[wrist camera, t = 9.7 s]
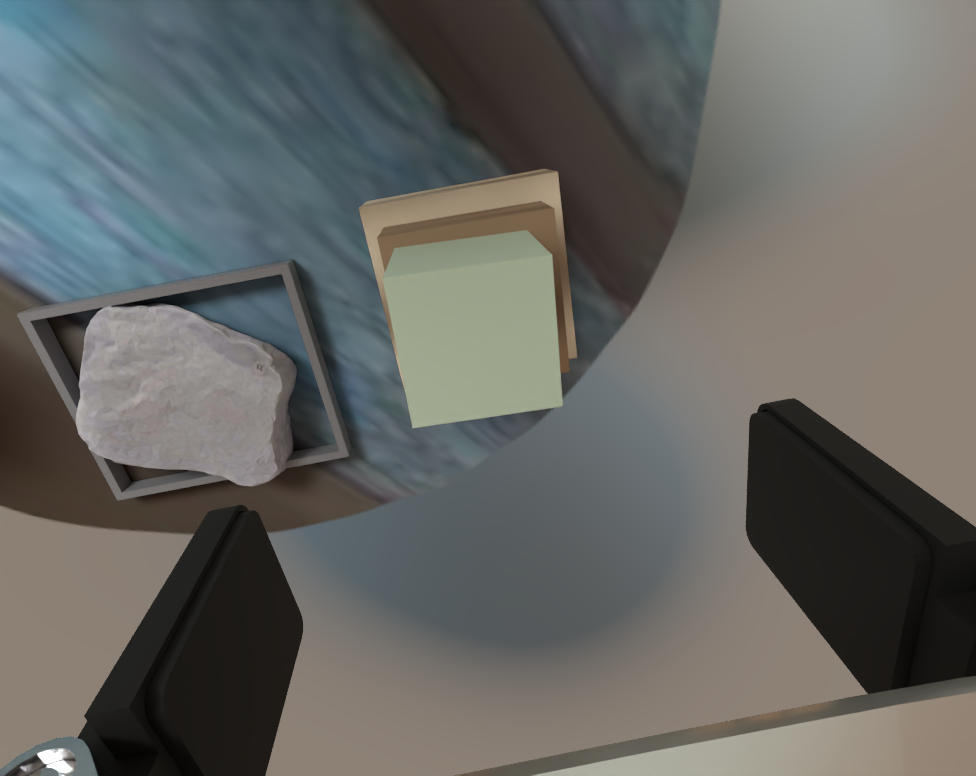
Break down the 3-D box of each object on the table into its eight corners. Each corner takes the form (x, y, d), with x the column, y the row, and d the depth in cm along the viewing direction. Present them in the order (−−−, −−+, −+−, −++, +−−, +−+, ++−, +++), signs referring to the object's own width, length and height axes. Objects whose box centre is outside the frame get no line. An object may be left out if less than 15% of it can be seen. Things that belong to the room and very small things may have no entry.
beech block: (367, 200, 31) (358, 208, 27) (543, 168, 31) (557, 171, 27) (407, 364, 35) (404, 389, 31) (562, 335, 35) (577, 357, 31)
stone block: (121, 284, 34) (106, 438, 36) (71, 287, 29) (57, 463, 31) (317, 326, 36) (293, 470, 37) (299, 334, 31) (272, 499, 33)
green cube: (394, 247, 25) (382, 277, 19) (527, 229, 25) (551, 254, 19) (417, 370, 27) (412, 428, 22) (538, 353, 27) (562, 406, 22)
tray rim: (31, 308, 31) (16, 314, 30) (292, 259, 31) (287, 263, 30) (127, 489, 36) (117, 500, 35) (351, 447, 37) (349, 456, 35)
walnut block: (383, 227, 28) (376, 237, 25) (540, 200, 28) (554, 208, 25) (415, 372, 31) (413, 398, 28) (556, 348, 31) (570, 371, 28)
